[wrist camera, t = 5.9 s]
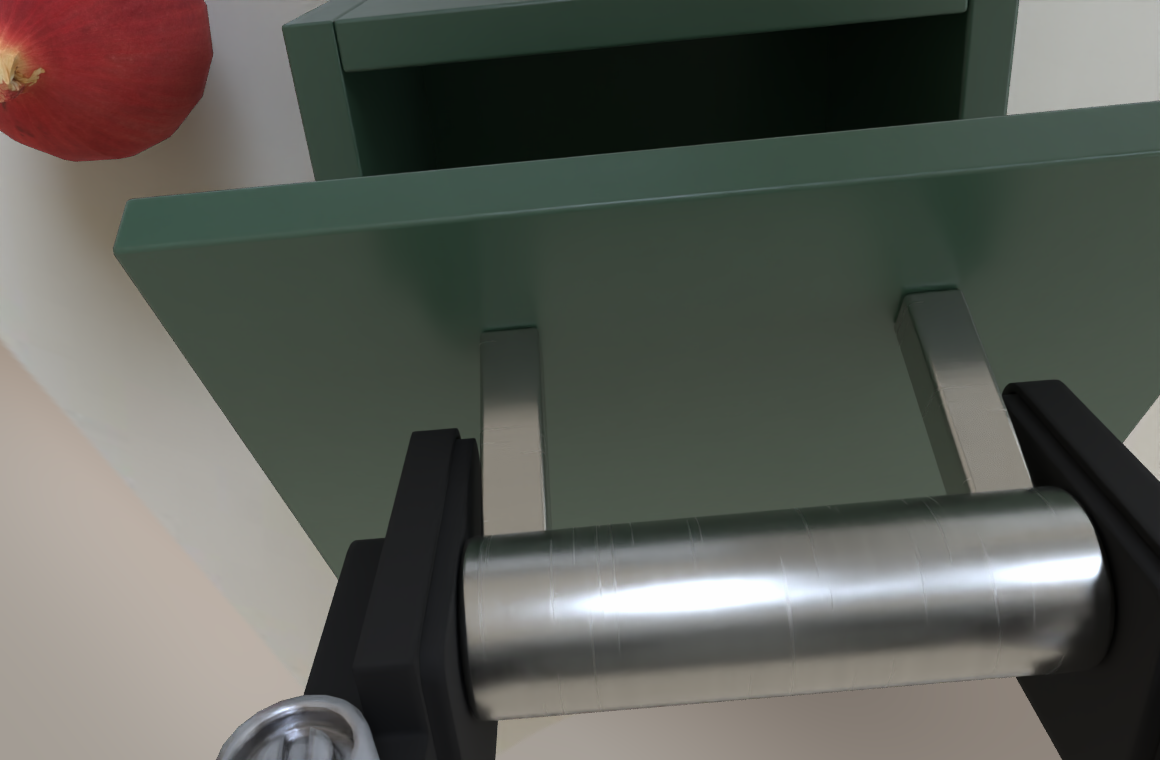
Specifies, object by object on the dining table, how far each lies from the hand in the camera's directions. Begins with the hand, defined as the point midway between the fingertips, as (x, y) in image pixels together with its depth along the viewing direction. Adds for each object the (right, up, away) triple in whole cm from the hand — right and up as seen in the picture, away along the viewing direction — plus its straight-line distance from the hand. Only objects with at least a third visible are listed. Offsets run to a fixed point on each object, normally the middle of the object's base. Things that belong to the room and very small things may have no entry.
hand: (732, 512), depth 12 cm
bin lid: (0, 0, +5) cm, 5 cm away
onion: (-14, +12, +14) cm, 23 cm away
